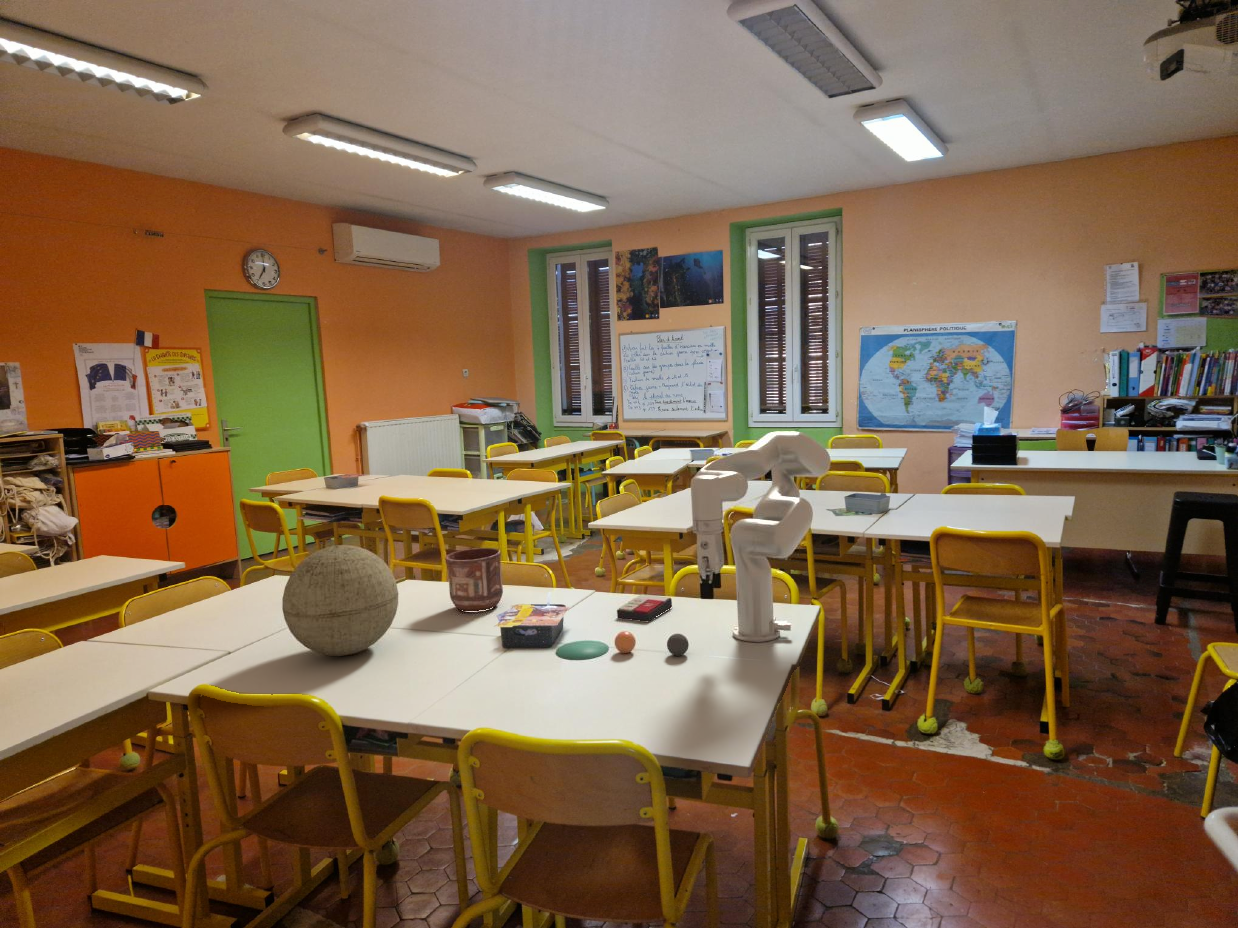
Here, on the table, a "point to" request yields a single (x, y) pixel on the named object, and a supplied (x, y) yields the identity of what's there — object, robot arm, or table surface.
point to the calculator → (644, 607)
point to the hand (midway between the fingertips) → (711, 593)
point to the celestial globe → (340, 600)
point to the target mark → (582, 650)
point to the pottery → (475, 578)
